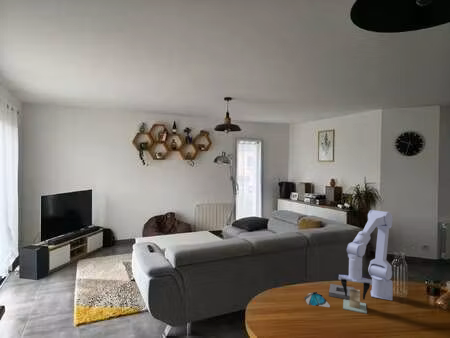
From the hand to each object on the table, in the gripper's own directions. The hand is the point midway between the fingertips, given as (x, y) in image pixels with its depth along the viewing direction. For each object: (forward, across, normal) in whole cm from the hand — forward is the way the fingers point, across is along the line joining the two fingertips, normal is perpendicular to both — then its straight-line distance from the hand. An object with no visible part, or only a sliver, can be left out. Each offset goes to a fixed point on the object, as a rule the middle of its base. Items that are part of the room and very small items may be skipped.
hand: (354, 297), depth 139 cm
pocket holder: (+5, -6, +13) cm, 15 cm away
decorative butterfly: (+5, -17, -3) cm, 18 cm away
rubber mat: (+5, 0, 0) cm, 5 cm away
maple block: (+4, 0, 0) cm, 4 cm away
